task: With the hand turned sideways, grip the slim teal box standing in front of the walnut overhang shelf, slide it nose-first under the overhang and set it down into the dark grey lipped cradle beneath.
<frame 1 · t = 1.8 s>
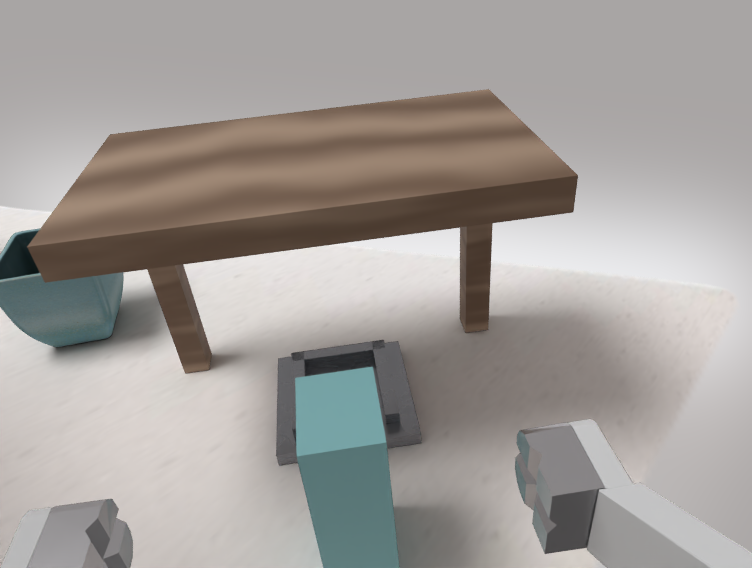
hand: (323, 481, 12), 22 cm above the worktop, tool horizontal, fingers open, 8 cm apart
seat cradle: (344, 401, 44), on the worktop
overhang shelf: (344, 401, 44), on the worktop
flower pot: (89, 330, 55), on the worktop
teal box: (361, 548, 34), on the worktop
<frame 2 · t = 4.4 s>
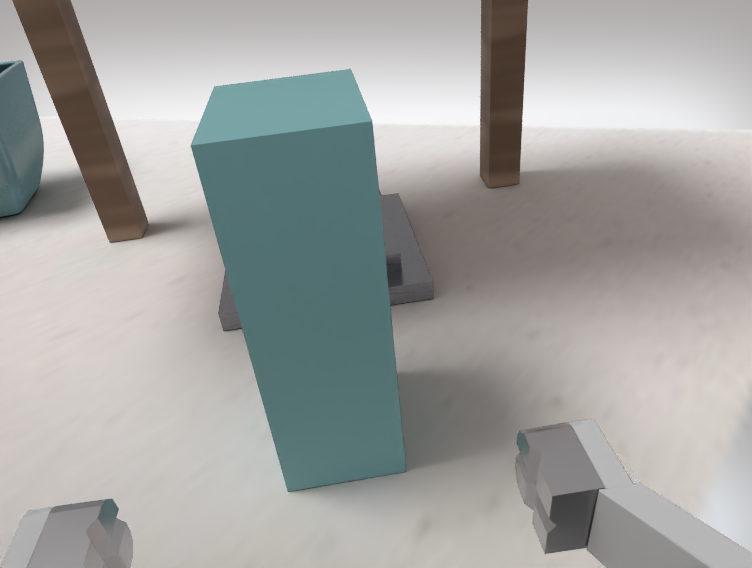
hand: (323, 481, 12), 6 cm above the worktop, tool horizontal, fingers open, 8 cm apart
seat cradle: (323, 260, 31), on the worktop
overhang shelf: (323, 260, 31), on the worktop
teal box: (341, 425, 21), on the worktop
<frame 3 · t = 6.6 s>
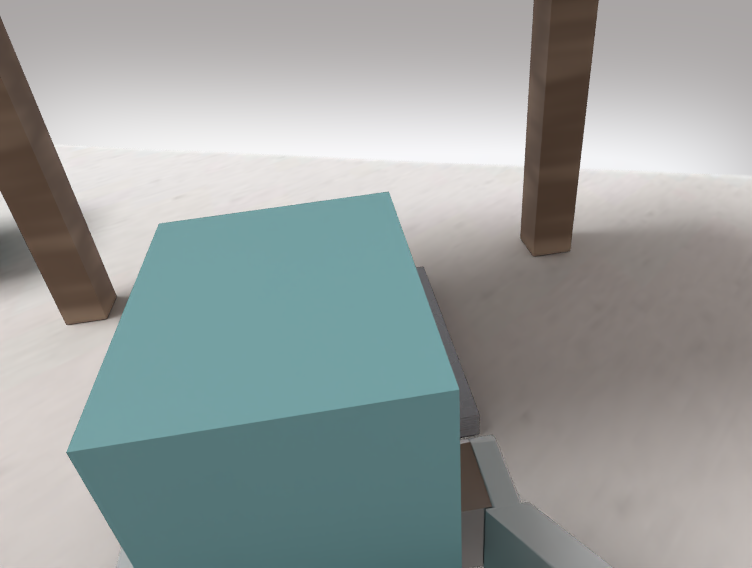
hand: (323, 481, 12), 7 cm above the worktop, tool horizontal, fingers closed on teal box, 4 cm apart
seat cradle: (332, 363, 25), on the worktop
overhang shelf: (332, 363, 25), on the worktop
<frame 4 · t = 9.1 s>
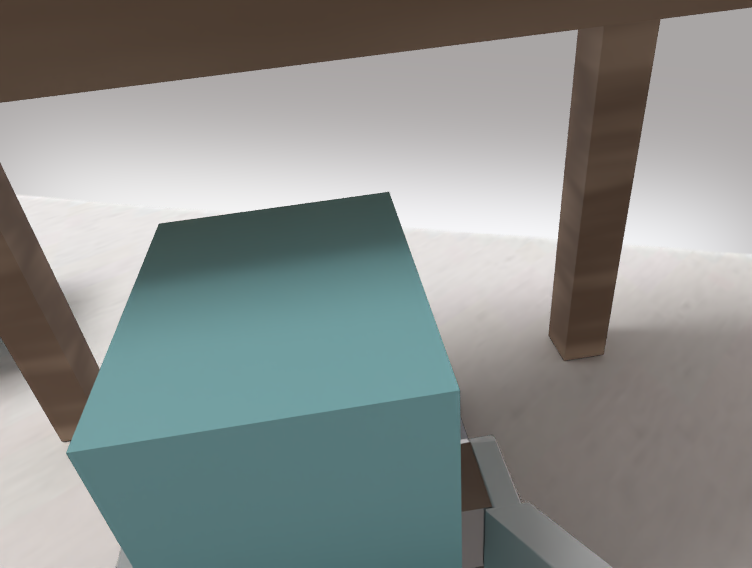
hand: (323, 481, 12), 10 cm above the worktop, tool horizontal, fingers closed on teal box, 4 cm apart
overhang shelf: (352, 505, 22), on the worktop
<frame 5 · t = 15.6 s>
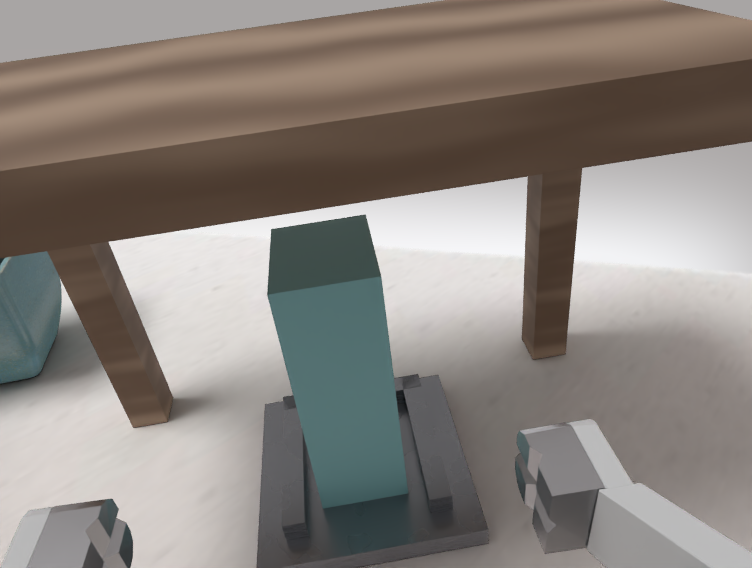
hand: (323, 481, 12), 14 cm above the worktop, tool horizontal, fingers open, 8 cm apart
seat cradle: (363, 471, 29), on the worktop
overhang shelf: (363, 471, 29), on the worktop
flower pot: (14, 365, 40), on the worktop
teal box: (360, 458, 29), point 1 cm above the worktop, touching seat cradle
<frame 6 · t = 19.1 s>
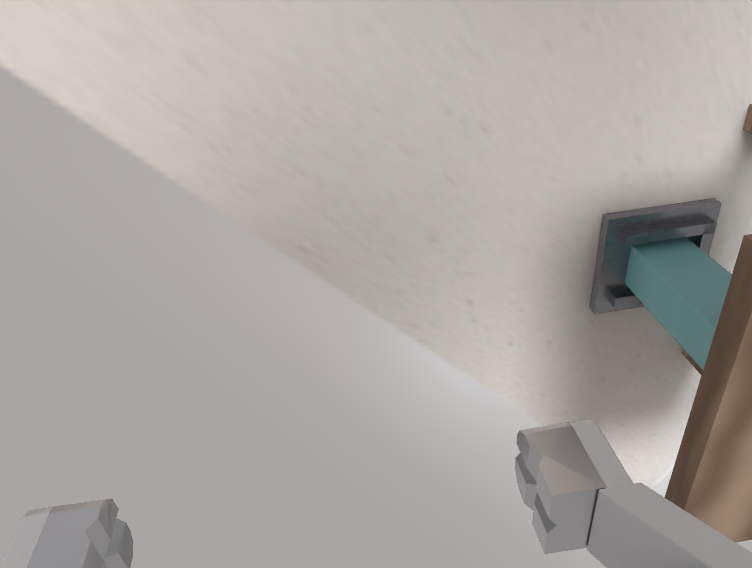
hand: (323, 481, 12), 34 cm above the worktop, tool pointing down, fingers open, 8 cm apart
seat cradle: (648, 255, 53), on the worktop
overhang shelf: (648, 255, 53), on the worktop
teal box: (654, 260, 52), point 1 cm above the worktop, touching seat cradle
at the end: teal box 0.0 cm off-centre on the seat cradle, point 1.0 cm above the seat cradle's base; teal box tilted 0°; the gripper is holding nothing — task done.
